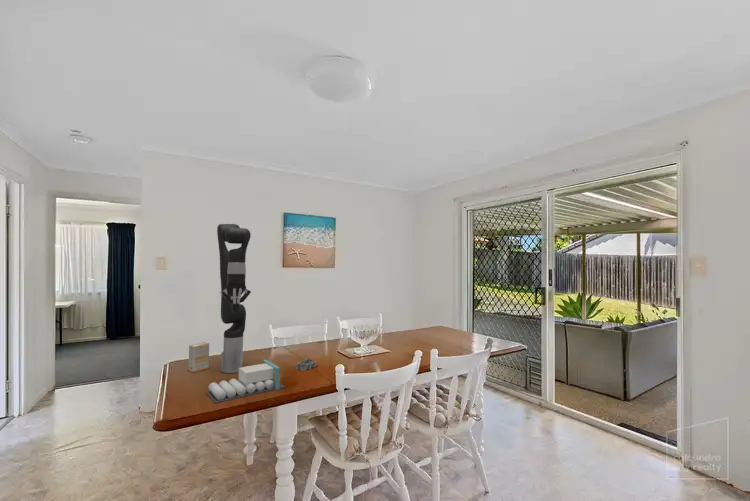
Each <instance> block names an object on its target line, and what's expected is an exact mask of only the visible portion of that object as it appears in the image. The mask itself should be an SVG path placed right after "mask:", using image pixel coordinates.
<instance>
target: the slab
mask: <svg viewBox="0 0 750 501" xmlns="http://www.w3.org/2000/svg"><path fill="white" fill-rule="evenodd" d="M239 379H240V380H241V381H243V382H244V383H245V384H248V383H253V382H258V381H263V380H268V379H274V374H273V367H271V366H269V365H268V364H266V363H264V364H263V363H259V364H253V365H248V366H242V367H241V368H239V372H238V380H239Z"/></svg>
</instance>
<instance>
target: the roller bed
mask: <svg viewBox="0 0 750 501" xmlns="http://www.w3.org/2000/svg"><path fill="white" fill-rule="evenodd" d="M284 388H286V386H285V385H283V384H282V383H280V382H279V390H280V389H284ZM271 391H276V390H275V378H273V379H268V380H263V381H258V382H253V383H248V384H245V383H244V382H243V381H241V380H240V379H239V378H238V379H236V378H231V379H229V381H227V380H221V381H220V382H218V383H217V382H211V383H209V385H208V390H207V391H205V394H206V395H207V396H208V397H209V398H210V400H211V401H212V402H213V403H214V404H219V403H223V402H227V401H231V400H237V399H241V398H245V397H250V396H253V395H258V394H262V393H266V392H271Z"/></svg>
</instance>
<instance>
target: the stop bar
mask: <svg viewBox="0 0 750 501" xmlns="http://www.w3.org/2000/svg"><path fill="white" fill-rule="evenodd" d="M264 363H266V364H268V365H269V366H271V367H273V376H274V380H275V390H274V391H278V390H280V389H279V383H280V380H281V379H280V374H281V371H280V370H281V368H280V367H279V366H278V365H277V364H275V363H273V362H271V361H270V360H267V359H263V360H262V364H264Z"/></svg>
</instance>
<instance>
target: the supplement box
mask: <svg viewBox="0 0 750 501" xmlns="http://www.w3.org/2000/svg"><path fill="white" fill-rule="evenodd" d="M209 363H210V343H209V342H198V343H194V344H189V345H188V370H187V371H188V372H190V373H197V372H201V371H205V370H209V367H210V366H209Z"/></svg>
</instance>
